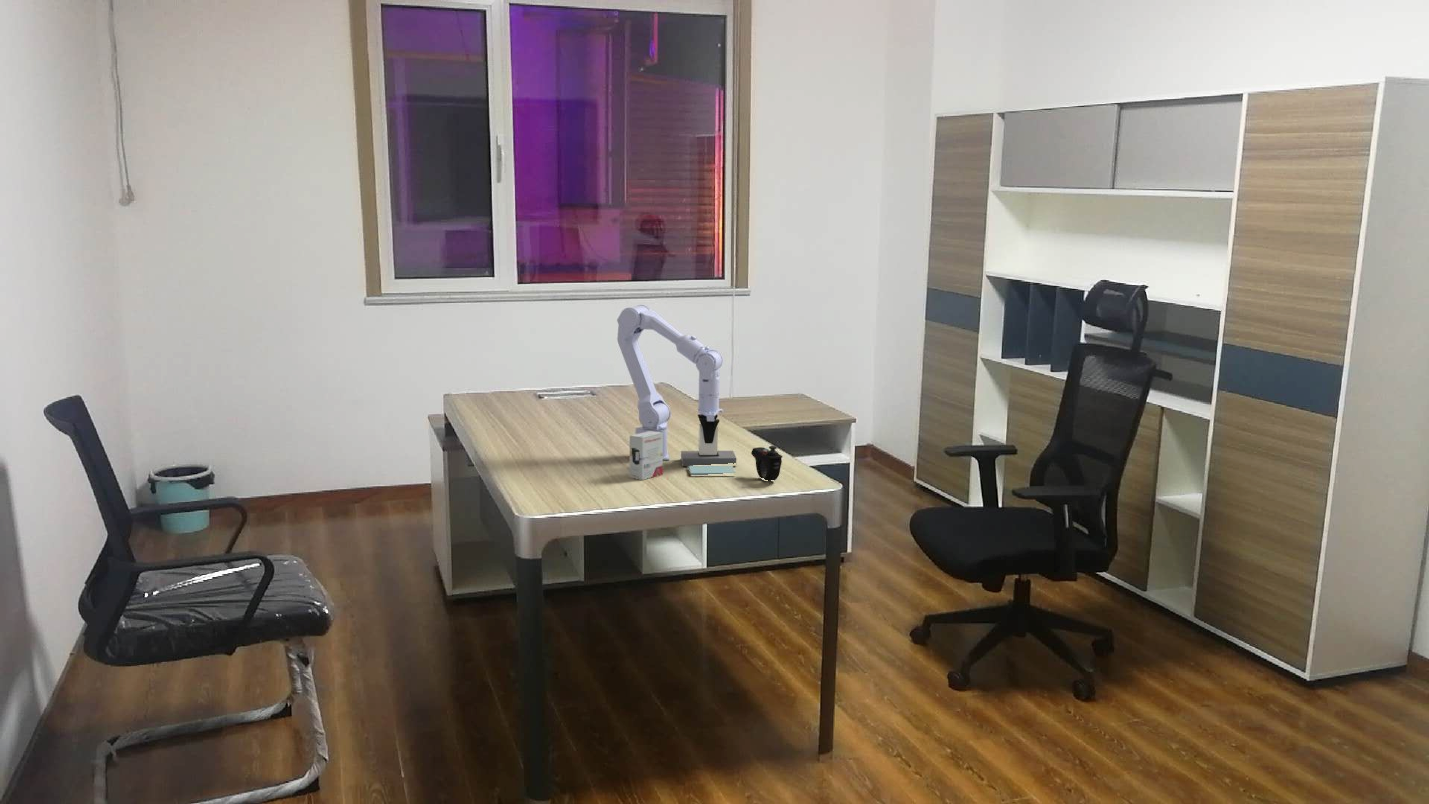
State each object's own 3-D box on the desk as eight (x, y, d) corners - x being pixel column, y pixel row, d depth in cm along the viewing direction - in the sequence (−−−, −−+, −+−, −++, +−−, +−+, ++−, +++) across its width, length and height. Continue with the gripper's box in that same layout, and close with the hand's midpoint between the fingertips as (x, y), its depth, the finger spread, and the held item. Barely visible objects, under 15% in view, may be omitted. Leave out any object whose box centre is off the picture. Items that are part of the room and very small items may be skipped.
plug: (699, 454, 309) (700, 427, 307) (698, 451, 313) (699, 424, 311) (717, 454, 309) (717, 427, 308) (716, 451, 313) (716, 424, 311)
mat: (690, 476, 296) (690, 473, 296) (688, 469, 304) (688, 465, 304) (734, 476, 297) (734, 472, 297) (731, 469, 305) (731, 465, 305)
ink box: (650, 471, 301) (650, 429, 299) (663, 474, 298) (663, 432, 296) (628, 477, 294) (628, 434, 292) (641, 480, 291) (642, 437, 289)
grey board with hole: (682, 467, 306) (682, 458, 306) (681, 459, 315) (681, 450, 315) (736, 466, 308) (736, 458, 307) (732, 459, 316) (733, 450, 316)
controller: (769, 486, 288) (770, 449, 286) (748, 475, 299) (749, 439, 297) (783, 485, 289) (785, 448, 287) (762, 474, 300) (763, 438, 299)
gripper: (725, 398, 301) (724, 447, 303) (720, 389, 315) (719, 435, 318) (699, 398, 300) (699, 447, 303) (696, 389, 314) (695, 435, 317)
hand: (708, 441), depth 310 cm, fingers closed on plug, 4 cm apart
